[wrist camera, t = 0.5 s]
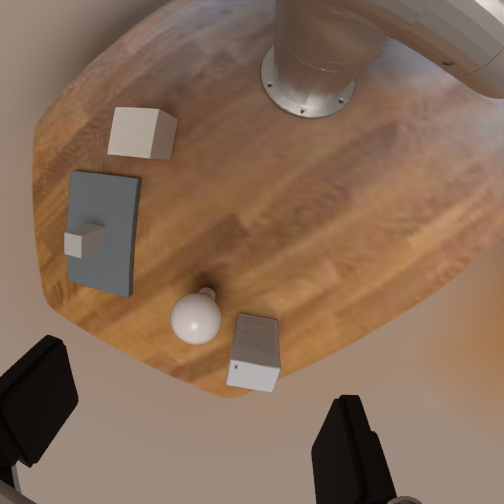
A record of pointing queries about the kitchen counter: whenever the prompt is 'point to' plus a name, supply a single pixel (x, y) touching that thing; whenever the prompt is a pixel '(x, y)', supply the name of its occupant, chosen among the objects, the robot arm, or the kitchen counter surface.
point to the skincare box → (254, 354)
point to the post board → (118, 233)
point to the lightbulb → (196, 317)
